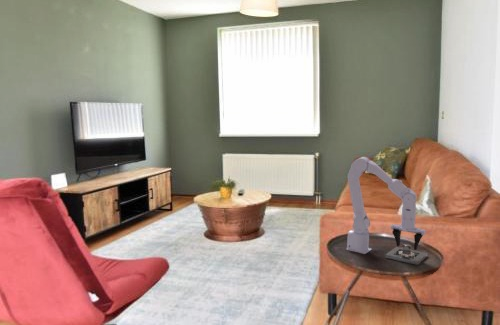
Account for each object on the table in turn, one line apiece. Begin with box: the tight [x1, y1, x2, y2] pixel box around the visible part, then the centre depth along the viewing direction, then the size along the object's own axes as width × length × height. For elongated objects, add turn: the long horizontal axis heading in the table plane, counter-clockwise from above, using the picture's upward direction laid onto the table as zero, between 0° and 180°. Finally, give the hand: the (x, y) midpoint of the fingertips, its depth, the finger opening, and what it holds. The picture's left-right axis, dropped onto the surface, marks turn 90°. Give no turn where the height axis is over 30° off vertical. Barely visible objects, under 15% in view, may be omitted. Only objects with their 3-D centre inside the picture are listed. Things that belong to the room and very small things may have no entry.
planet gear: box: [397, 243, 416, 259], centre depth 184 cm, size 7×7×6 cm
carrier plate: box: [384, 246, 428, 266], centre depth 184 cm, size 14×14×2 cm
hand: (406, 247), depth 184 cm, fingers open, 7 cm apart
